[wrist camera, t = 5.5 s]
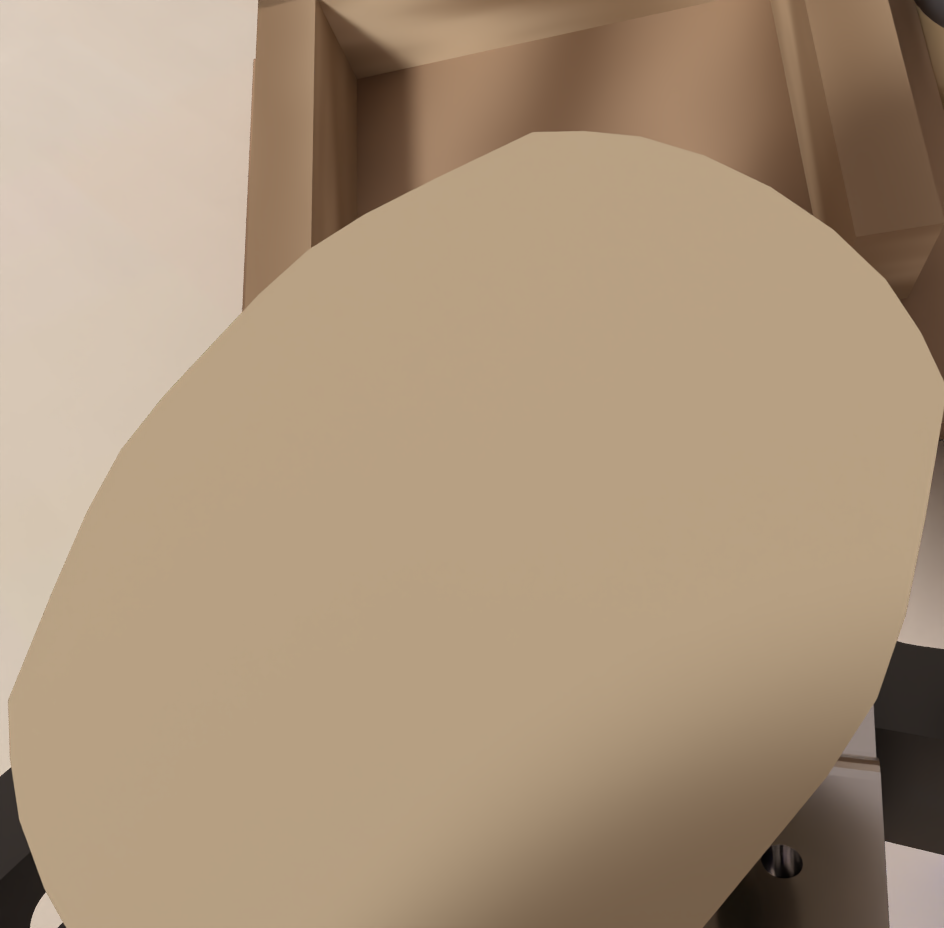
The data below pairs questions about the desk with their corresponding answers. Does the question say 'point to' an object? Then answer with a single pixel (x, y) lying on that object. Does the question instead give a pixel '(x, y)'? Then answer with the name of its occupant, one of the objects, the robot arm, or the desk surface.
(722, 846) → the handle
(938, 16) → the bobbin
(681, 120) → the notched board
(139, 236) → the desk surface
